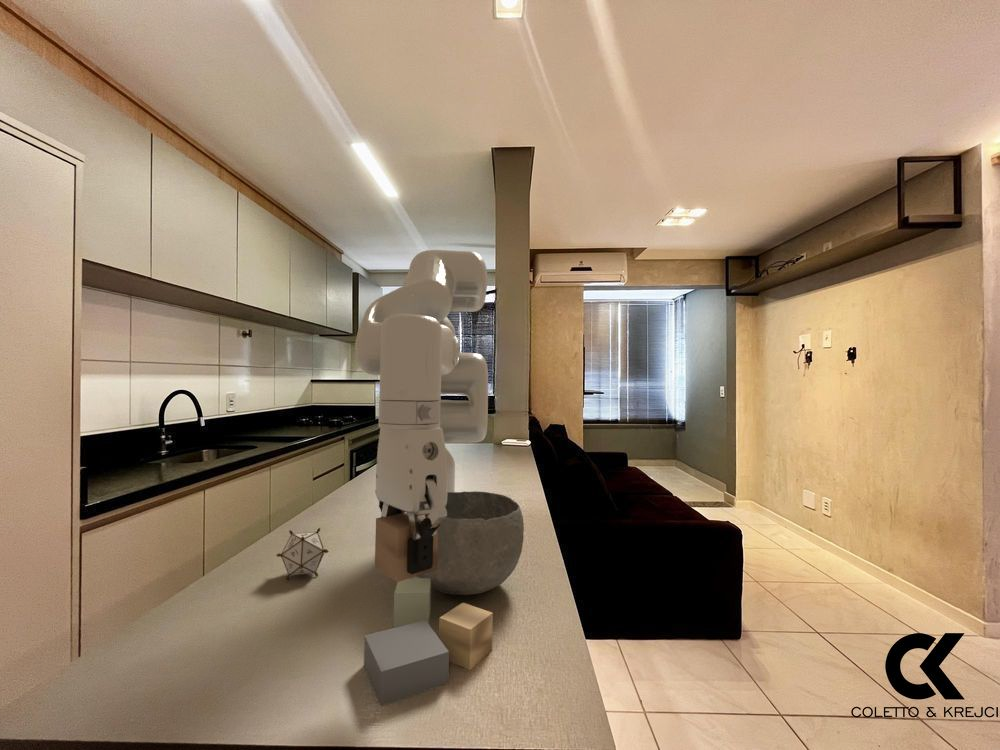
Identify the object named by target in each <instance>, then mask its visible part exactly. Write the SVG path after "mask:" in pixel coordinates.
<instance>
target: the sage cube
mask: <svg viewBox="0 0 1000 750" xmlns="http://www.w3.org/2000/svg"><path fill="white" fill-rule="evenodd" d="M431 589H432V587H431V578H419V577H412V578H409V579H406V580H402V581H399V582H396V586H395V590H394V592H393V593H394V595H393V596H394V597H393V627H392V628H396V627H400V626H404V625H408V624H412V623H416V622H420V621H424V620H426V621H427V623H428V624H429V625H430V616H431V596H432V595H431V593H432V590H431Z"/></svg>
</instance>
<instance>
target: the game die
mask: <svg viewBox="0 0 1000 750" xmlns="http://www.w3.org/2000/svg"><path fill="white" fill-rule="evenodd" d="M320 531H321V527H319V528H317V530H316V531H310V532H297V533H296V532H295V533H293V531H292V530H291V529H289V531H288V532H289V535H290V536H289V537H288V539H287V542H286V544H285V546H284V548H283V550H282V551H281V553H280V552H279V553H277V554H276V555H275V556H276V557H277V558H279V557H280V558H281V559H282V562H283V565H284V567H285V570H286V572H287V575H286V577H285V580H286V581H287V580H289V579H290V577H292V576H299V575H309V574H310V575H311V574H314V575H315V577H319V573H318V572H317V571H318V569H319V566H320V565H321V562H322V559H323V557H324V555H325V554H328V553H329V550H328V548H327V549H326V548H324V544H323V543H322V539H321V536H320V533H319V532H320Z"/></svg>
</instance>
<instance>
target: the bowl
mask: <svg viewBox="0 0 1000 750" xmlns="http://www.w3.org/2000/svg"><path fill="white" fill-rule="evenodd" d="M419 508H420V510H422V509H425V505H424V504H423V505H420V506H419ZM445 508H446V510H447V516H446V518H445V519H444V520H443V521H442V522H441V523H440V526H439V527H438V558H437V570H435V571H432V572H429V573H425V574H422V575H419V576H417V578H431V589H434V590H435V591H438V592H440V593H442V594H443V593H444V594H448V595H449V594H450V595H456V596H470V595H471V596H472V595H478V594H483V593H485V592H488V591H491V590H493V589H495V588H496V587H498V586H500V585H502V584H503V583H504V582H505V581H506V580H507V579H508V578H509V577H510V576H511V574H512V573H513V572H514V570H515V569H516V567H517V565H518V563H519V560H520V557H521V554H522V550H523V544H524V534H525V533H524V531H525V529H524V528H525V527H524V526H525V524H524V517H523V513H522V510H521V507H520V505H519V504H518V503H517V502H516V501H515V500H514V499H512V498H511V497H509V496H507V495H505V494H499V493H495V492H489V491H488V492H487V491H478V490H477V491H476V490H475V491H460V492H459V491H455V492H447V504H446V506H445Z"/></svg>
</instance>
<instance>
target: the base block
mask: <svg viewBox="0 0 1000 750" xmlns="http://www.w3.org/2000/svg"><path fill="white" fill-rule="evenodd" d="M363 641H364V645H363V646H364V647H363V667H364V670H365V671H366V675H367V677H368V680H369V681H370V684H371V687H372V689H373V692H374V694H375V697H376V699H377V701H378V704H379V706H380V707H382V706H385V705H388V704H391V703H394V702H397V701H400V700H403V699H407V698H409V697H413V696H415V695H418V694H421V693H424V692H427V691H431V690H433V689H436V688H439V687H443V686H445V685H448V684H449V670H450V668H449V665H450V661H449V651H448V650H447V648H446V647H445V646H444V644H443V643H442V642H441V640H440V639H439V635H437V634H436V631H434V630H433V628H432V627H431V625H430V623H429V624H428V623H427V621H426V620H424V621H420V622H416V623H412V624H408V625H404V626H400V627H396V628H393V627H392V628H389V629H386V630H381V631H377V632H373V633H369V634H365V635H364V640H363Z"/></svg>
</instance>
